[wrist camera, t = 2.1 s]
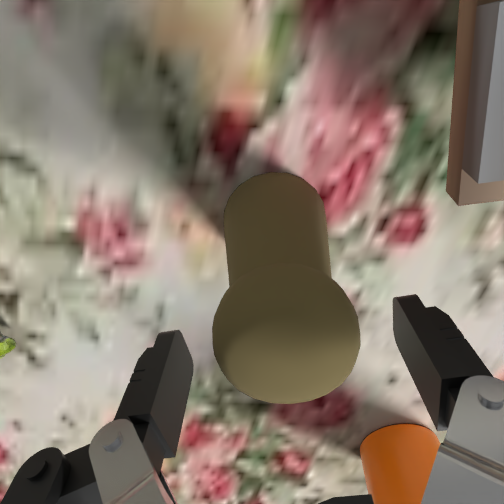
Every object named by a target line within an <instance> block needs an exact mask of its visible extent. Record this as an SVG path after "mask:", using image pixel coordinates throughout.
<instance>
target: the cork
mask: <svg viewBox="0 0 504 504" xmlns="http://www.w3.org/2000/svg"><path fill="white" fill-rule="evenodd" d="M224 232H225V243H226V253H227V264H228V274H229V285H230V288H229V289H228V290H227V291H226V293H225V294H224V296H223V298H222V299H221V302H220V304H219V306H218V309H217V311H216V313H215V316H214V321H213V326H212V334H213V349H214V355H215V357H216V360H217V362H218V364H219V366H220V368H221V370H222V372H223V373H224V375H225V376H226V378H227V379H228V380H229V381H230V382H231V383H232V384H233V385H234V386H235V387H236V388H237V389H238V390H239V391H241V392H243V393H245V394H246V395H248V396H250V397H252V398H254V399H258V400H262V401H266V402H269V403H280V404H294V403H300V402H307V401H311V400H314V399H316V398H319V397H322V396H324V395H327V394H328V393H330V392H331V391H333V390H334V389H336V388H337V387H338V386H340V385H341V384H342V383H343V382H344V380H345V379H346V378H347V377H348V375H349V374H350V373H351V371H352V369H353V367H354V365H355V362H356V359H357V356H358V353H359V349H360V329H359V323H358V316H357V314H356V311H355V309H354V306H353V305H352V303H351V301H350V300H349V298H348V297H347V295H346V294H345V292H344V290H343V289H342V288H341V287H340V286H339V285H338V284H337V282H335V281H334V280H333V279H332V278H331V267H330V256H329V245H328V234H327V223H326V215H325V209H324V203H323V201H322V199H321V198H320V196H319V194H318V193H317V191H316V189H315V188H313V187H312V186H311V185H310V184H309V183H307V182H306V181H305V180H304V179H302V178H299V177H297V176H294V175H291V174H289V173H277V172H269V173H265V174H261V175H257V176H254V177H252V178H250V179H249V180H247V181H246V182H244V183H242V184H241V185H239V187H238V188H237V189H236V190H235V191H234V193H233V194H232V195H231V196H230V197H229V200H228V203H227V205H226V208H225V211H224Z"/></svg>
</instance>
